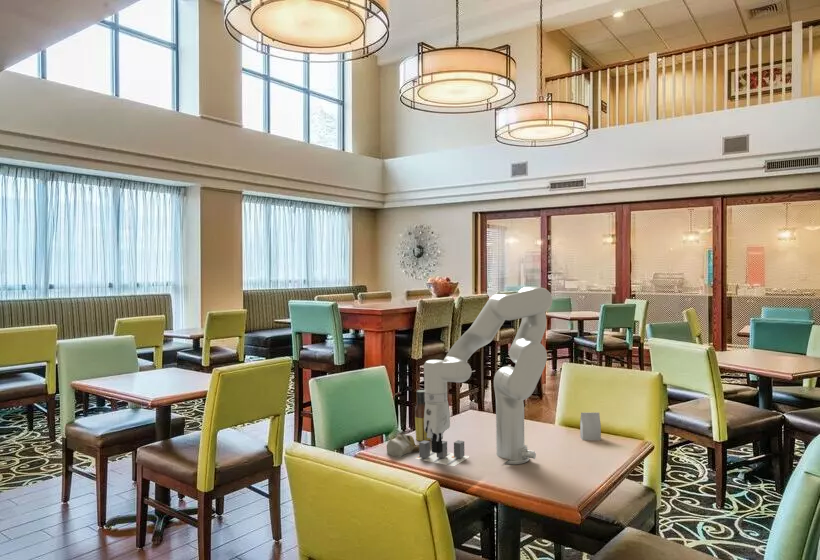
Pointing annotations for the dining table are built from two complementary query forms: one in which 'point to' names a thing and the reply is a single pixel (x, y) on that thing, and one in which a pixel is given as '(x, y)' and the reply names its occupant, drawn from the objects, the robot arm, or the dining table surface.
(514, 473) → the dining table surface
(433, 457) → the switch panel
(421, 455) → the slider
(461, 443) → the slider
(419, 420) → the sauce bottle
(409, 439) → the ceramic sculpture
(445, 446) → the slider
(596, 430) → the grey upright block
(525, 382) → the robot arm
